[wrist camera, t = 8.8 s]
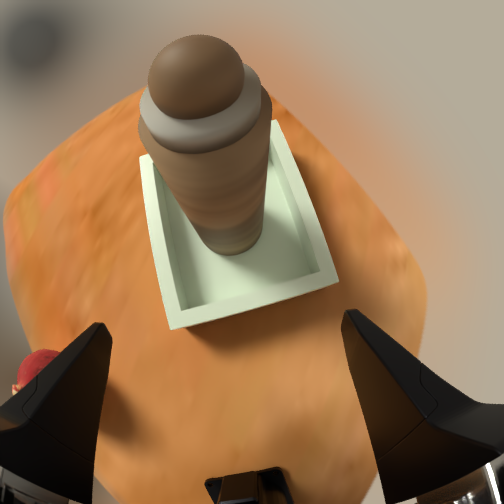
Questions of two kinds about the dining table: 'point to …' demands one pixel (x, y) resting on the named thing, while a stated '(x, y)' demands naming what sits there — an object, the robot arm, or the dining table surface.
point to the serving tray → (242, 265)
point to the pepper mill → (210, 138)
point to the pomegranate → (33, 367)
